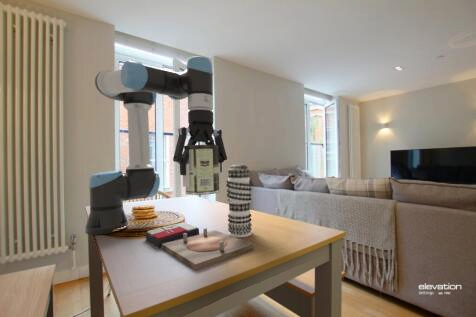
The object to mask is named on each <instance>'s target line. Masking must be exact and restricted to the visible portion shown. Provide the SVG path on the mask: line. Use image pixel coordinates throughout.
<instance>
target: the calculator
mask: <svg viewBox="0 0 476 317" xmlns="http://www.w3.org/2000/svg"><path fill="white" fill-rule="evenodd" d="M184 233H187V237H190V236H194V235H197V234H200V228H199V227H197V226H195V225H192V224H190V223H187V222H179V223H175V224H174V223H173V224H170V225H165V226H162V227H159V228H155V229H151V230H147V232H145V241H146V242H148V243H149V244H151V245H152V247H155V248H156V249H162V244H163V243H167V242H171V241H175V240H178V239H182V238H183V234H184Z"/></svg>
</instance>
